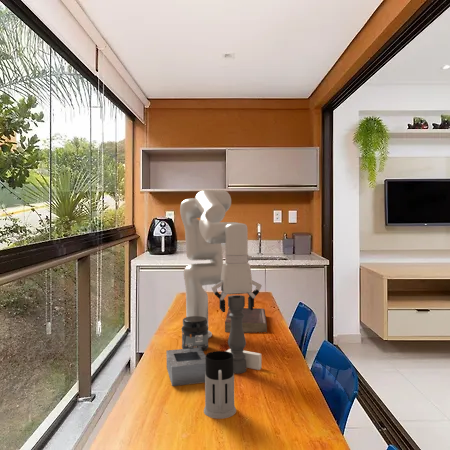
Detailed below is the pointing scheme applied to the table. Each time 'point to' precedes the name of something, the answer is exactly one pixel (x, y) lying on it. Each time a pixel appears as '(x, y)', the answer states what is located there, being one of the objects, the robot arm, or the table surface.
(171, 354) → the gray hollow block
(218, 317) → the table surface
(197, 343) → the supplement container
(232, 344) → the candle holder
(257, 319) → the hardback book
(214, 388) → the glass holder
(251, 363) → the angle bracket
